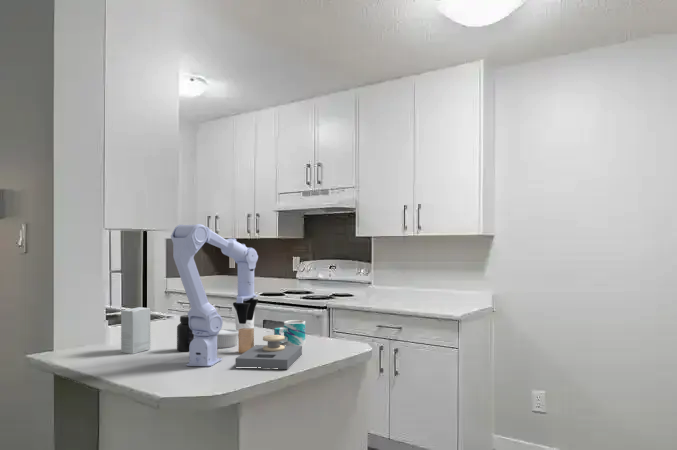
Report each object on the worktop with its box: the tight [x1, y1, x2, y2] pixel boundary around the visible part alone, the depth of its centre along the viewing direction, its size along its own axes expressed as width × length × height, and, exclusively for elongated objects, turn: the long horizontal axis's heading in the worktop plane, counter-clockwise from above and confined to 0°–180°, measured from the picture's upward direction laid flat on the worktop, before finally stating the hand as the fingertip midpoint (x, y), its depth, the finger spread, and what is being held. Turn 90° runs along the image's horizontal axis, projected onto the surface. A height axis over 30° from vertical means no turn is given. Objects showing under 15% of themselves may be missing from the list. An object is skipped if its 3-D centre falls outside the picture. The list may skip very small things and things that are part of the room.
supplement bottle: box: [176, 314, 194, 353], centre depth 182 cm, size 7×7×12 cm
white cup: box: [234, 310, 255, 330], centre depth 210 cm, size 8×8×10 cm
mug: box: [273, 319, 307, 347], centre depth 190 cm, size 8×12×8 cm
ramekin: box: [217, 328, 238, 349], centre depth 190 cm, size 11×11×5 cm
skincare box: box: [120, 306, 151, 355], centre depth 181 cm, size 8×6×15 cm
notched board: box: [235, 334, 303, 370], centre depth 164 cm, size 20×16×7 cm
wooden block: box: [237, 327, 255, 354], centre depth 178 cm, size 3×4×8 cm, turn 82°
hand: (246, 321), depth 178 cm, fingers open, 7 cm apart
